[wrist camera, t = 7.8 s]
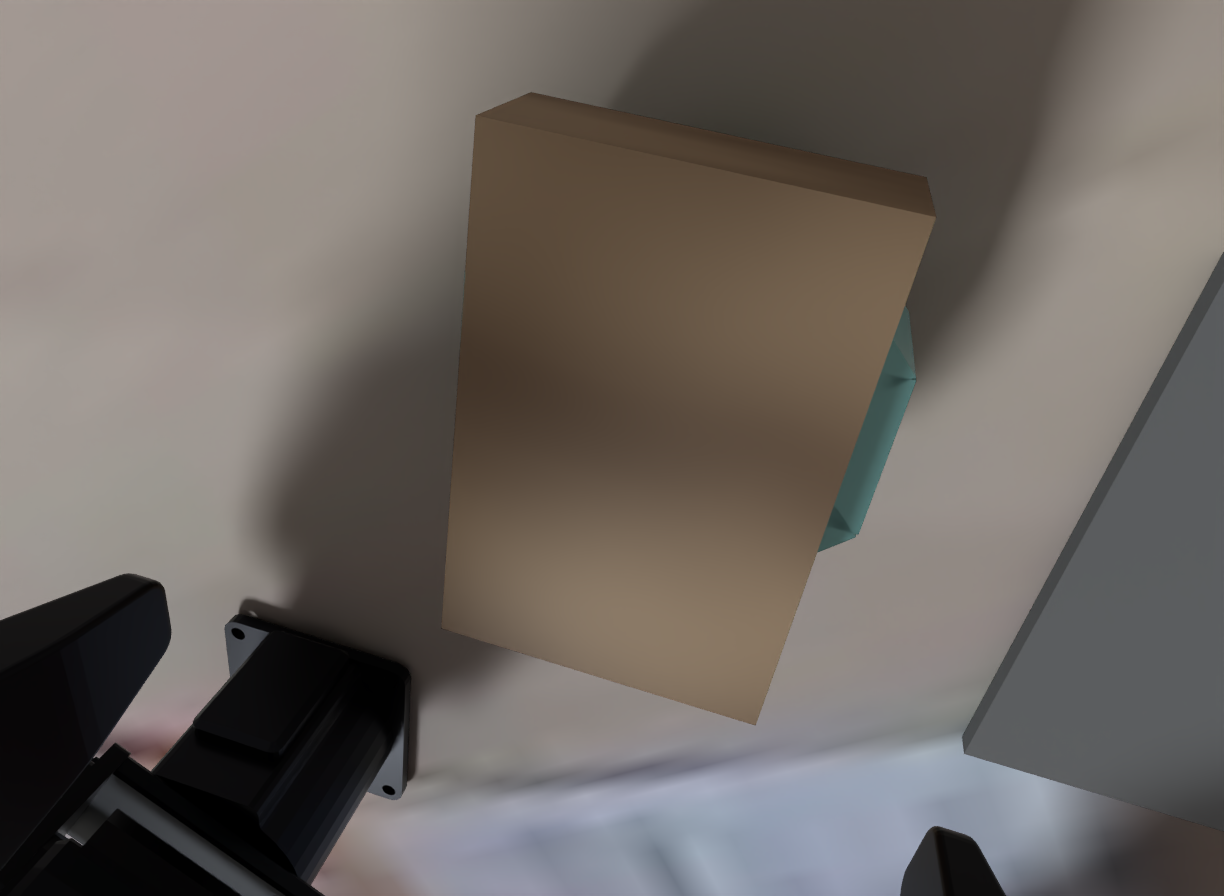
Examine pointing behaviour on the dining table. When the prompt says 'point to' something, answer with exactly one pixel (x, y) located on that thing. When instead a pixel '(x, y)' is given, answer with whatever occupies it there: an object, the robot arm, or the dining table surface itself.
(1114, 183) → the dining table surface
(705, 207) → the board
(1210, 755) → the mat
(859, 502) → the bowl
